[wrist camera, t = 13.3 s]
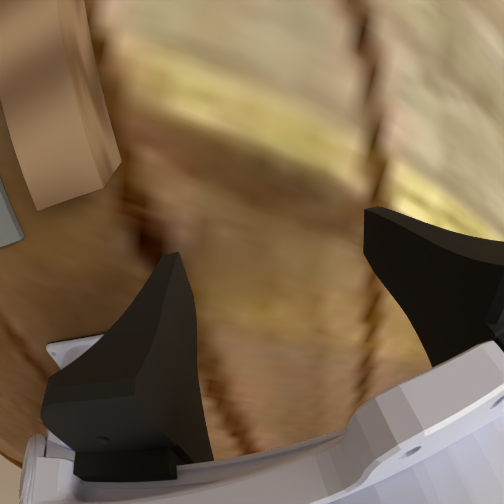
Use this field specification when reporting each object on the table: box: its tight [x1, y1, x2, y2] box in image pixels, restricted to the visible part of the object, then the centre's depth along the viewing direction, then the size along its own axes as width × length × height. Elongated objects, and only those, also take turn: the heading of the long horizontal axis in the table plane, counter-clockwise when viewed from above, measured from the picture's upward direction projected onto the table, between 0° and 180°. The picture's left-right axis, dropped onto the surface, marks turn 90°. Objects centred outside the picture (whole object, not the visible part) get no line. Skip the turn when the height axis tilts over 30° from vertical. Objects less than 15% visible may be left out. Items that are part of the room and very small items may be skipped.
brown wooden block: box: [0, 0, 122, 211], centre depth 13 cm, size 12×4×5 cm, turn 10°
